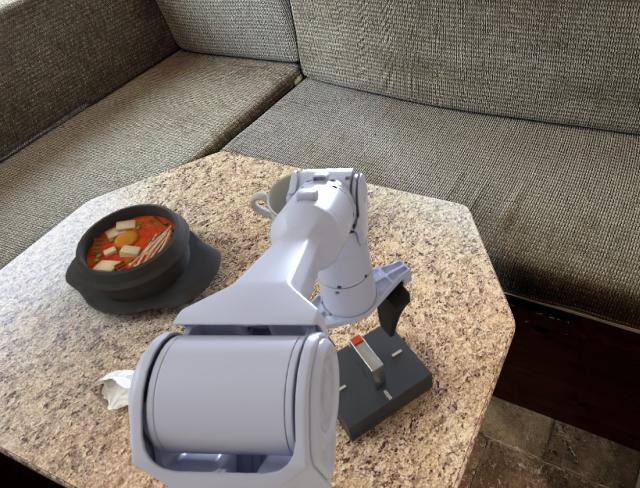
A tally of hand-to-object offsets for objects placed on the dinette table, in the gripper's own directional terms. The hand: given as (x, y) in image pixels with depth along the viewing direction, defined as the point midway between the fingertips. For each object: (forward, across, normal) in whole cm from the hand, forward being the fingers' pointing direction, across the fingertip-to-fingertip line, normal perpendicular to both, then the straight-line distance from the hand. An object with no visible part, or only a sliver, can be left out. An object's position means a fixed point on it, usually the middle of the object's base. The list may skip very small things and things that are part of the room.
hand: (360, 347), depth 70 cm
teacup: (+10, -7, -33) cm, 35 cm away
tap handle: (+7, -1, -1) cm, 7 cm away
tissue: (+10, +26, -20) cm, 34 cm away
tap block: (+10, -1, -1) cm, 10 cm away
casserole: (+10, +17, -39) cm, 44 cm away
